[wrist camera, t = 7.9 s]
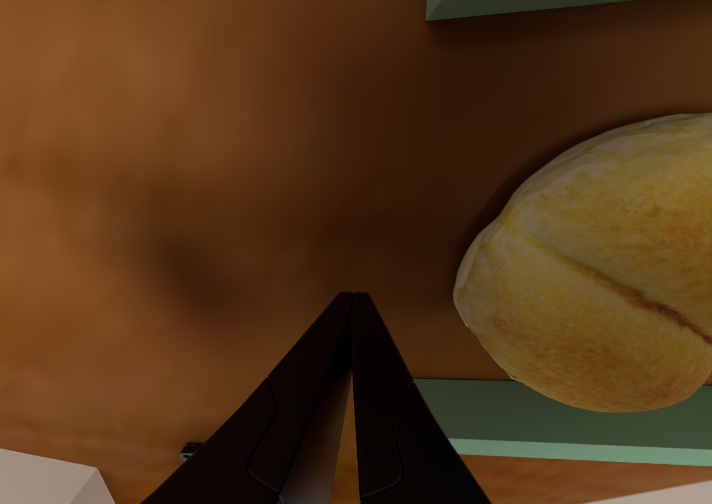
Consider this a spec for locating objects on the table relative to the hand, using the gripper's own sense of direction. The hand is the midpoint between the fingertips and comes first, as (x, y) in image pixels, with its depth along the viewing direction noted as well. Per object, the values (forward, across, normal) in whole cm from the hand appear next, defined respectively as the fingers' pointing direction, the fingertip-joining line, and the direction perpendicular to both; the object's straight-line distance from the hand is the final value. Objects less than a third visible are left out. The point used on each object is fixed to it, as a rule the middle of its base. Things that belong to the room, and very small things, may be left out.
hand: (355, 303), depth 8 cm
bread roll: (+2, -8, 0) cm, 8 cm away
